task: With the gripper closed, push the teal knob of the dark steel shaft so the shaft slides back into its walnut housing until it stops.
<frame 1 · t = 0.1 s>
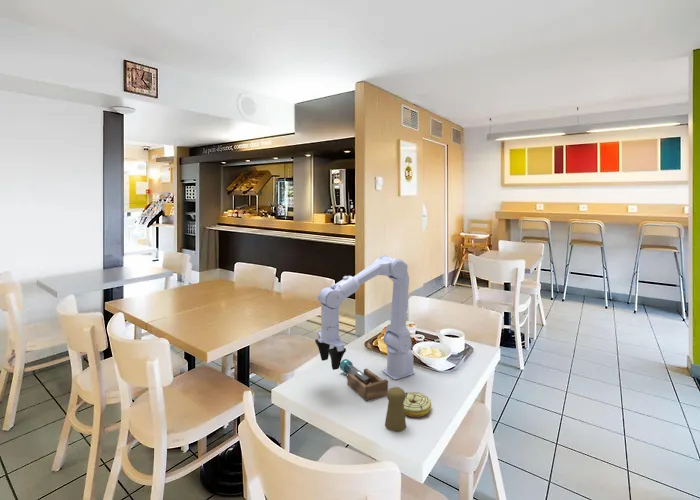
hand: (330, 364, 125), 10 cm above the table, tool pointing down, fingers open, 7 cm apart
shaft: (355, 372, 134), point 3 cm above the table, slide at 5.0 cm
olive brown pawn: (395, 425, 109), on the table
housing: (364, 387, 129), on the table
decorated donut: (412, 409, 117), on the table
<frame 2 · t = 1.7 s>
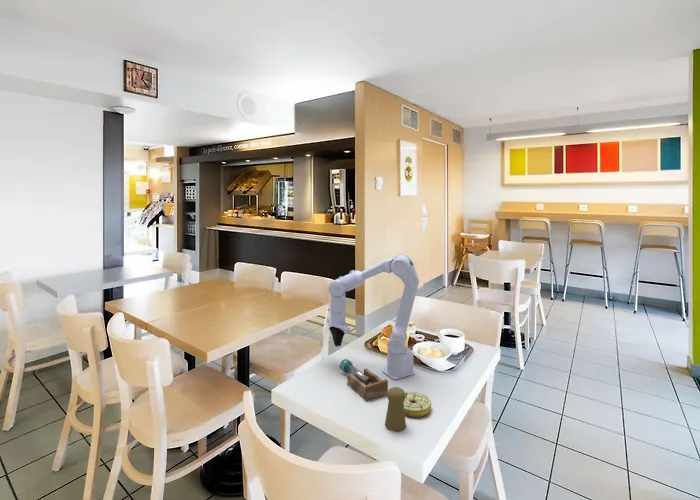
hand: (337, 345, 144), 8 cm above the table, tool pointing down, fingers closed
nothing on the table moved.
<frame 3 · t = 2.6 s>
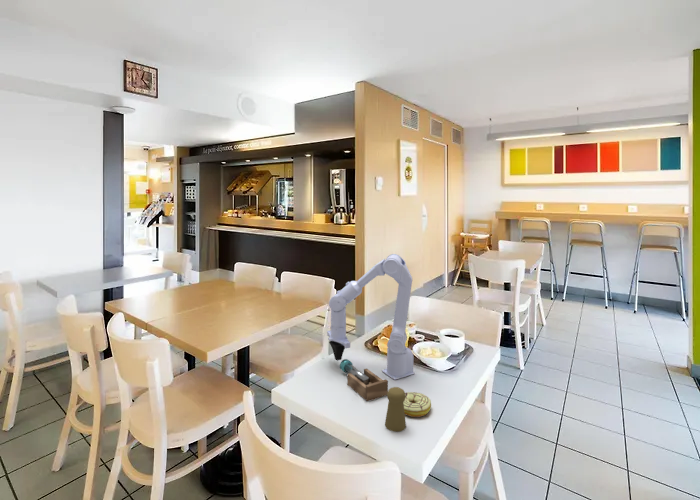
hand: (338, 359, 145), 3 cm above the table, tool pointing down, fingers closed
nothing on the table moved.
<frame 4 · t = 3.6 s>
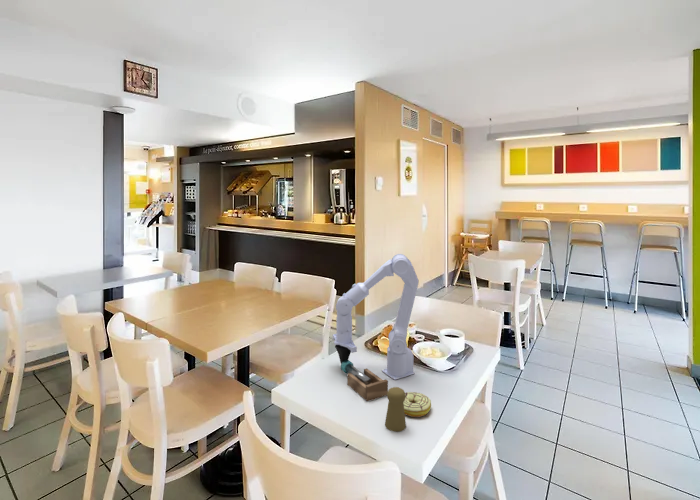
hand: (344, 363, 141), 3 cm above the table, tool pointing down, fingers closed
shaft: (356, 373, 134), point 3 cm above the table, slide at 4.4 cm, touching gripper
everything else where it was.
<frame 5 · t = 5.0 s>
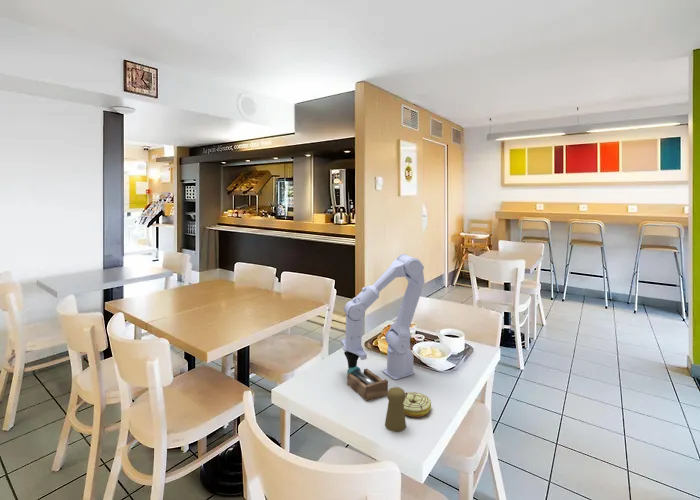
hand: (352, 370, 136), 3 cm above the table, tool pointing down, fingers closed, pressing on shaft
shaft: (363, 379, 130), point 3 cm above the table, slide at -0.5 cm, touching gripper, housing
everything else where it was.
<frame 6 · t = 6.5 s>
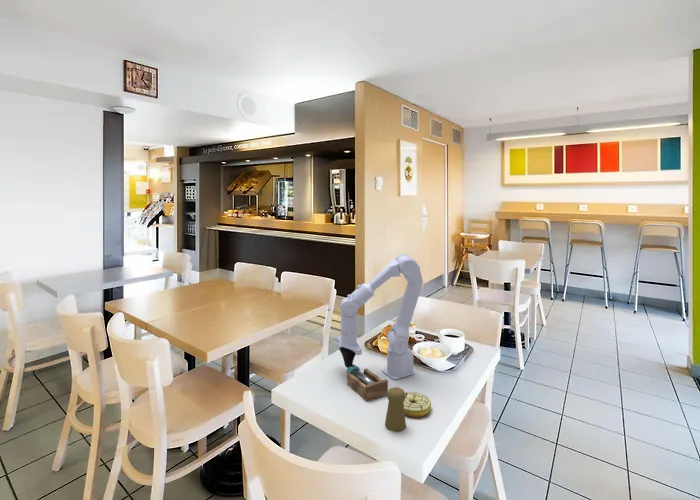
hand: (348, 366, 138), 3 cm above the table, tool pointing down, fingers closed
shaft: (362, 378, 130), point 3 cm above the table, slide at 0.0 cm
everything else where it was.
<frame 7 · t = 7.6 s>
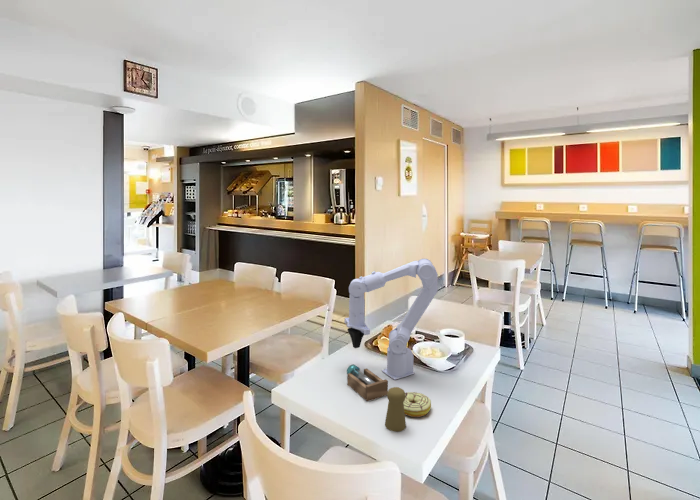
hand: (356, 347, 140), 9 cm above the table, tool pointing down, fingers closed
nothing on the table moved.
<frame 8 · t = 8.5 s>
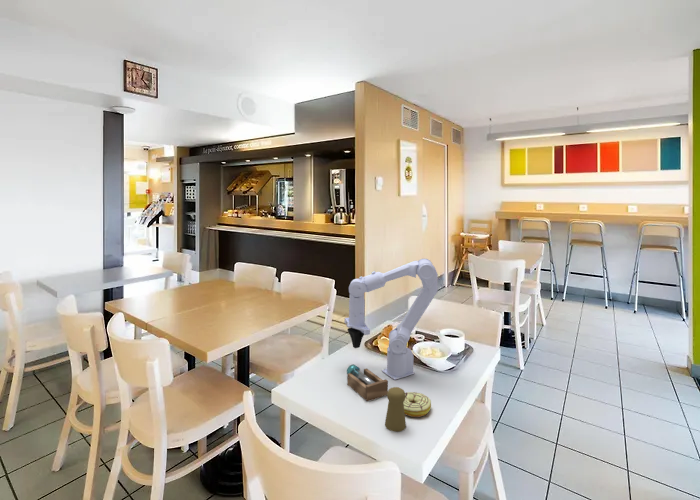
hand: (356, 347, 140), 9 cm above the table, tool pointing down, fingers closed
nothing on the table moved.
at the end: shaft slide at 0.0 cm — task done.
